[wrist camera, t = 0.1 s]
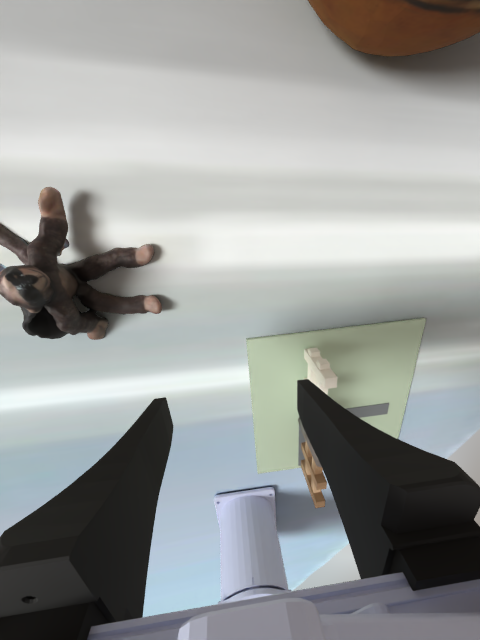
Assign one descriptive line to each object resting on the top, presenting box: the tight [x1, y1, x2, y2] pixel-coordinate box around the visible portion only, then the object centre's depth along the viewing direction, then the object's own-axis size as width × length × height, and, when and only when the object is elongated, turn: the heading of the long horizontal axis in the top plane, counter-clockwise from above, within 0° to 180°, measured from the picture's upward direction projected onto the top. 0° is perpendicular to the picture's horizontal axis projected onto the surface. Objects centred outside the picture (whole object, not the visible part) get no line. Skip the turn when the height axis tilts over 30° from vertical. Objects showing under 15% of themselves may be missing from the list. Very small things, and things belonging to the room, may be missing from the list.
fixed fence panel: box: [298, 417, 327, 508], centre depth 26 cm, size 8×2×5 cm, turn 5°
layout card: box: [246, 318, 426, 474], centre depth 26 cm, size 19×18×1 cm
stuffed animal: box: [0, 187, 162, 340], centre depth 19 cm, size 12×10×12 cm
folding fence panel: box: [304, 347, 338, 395], centre depth 22 cm, size 9×1×5 cm, turn 5°
